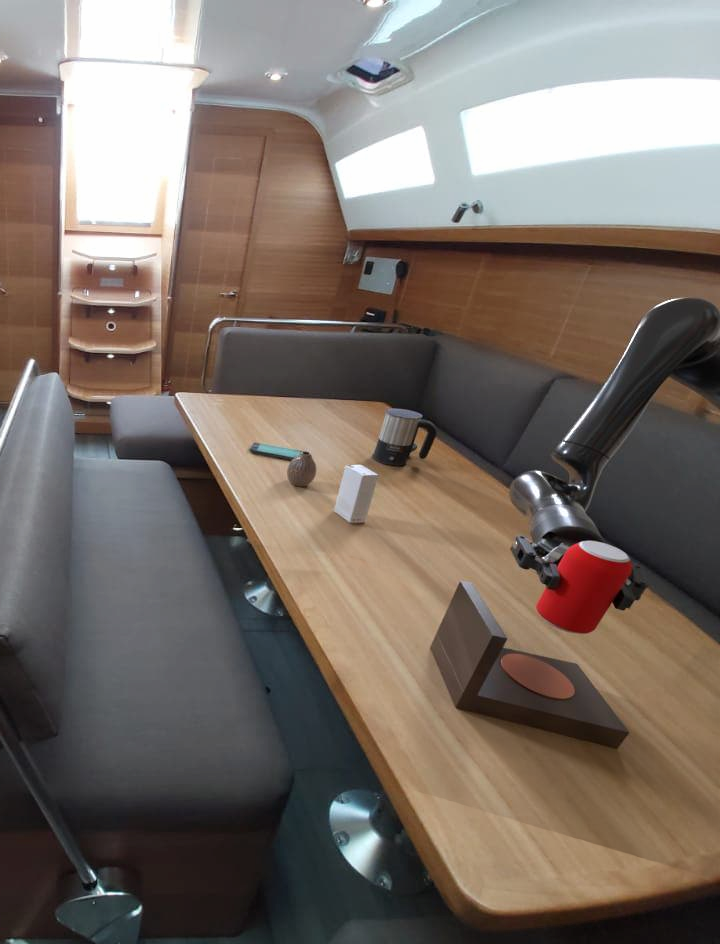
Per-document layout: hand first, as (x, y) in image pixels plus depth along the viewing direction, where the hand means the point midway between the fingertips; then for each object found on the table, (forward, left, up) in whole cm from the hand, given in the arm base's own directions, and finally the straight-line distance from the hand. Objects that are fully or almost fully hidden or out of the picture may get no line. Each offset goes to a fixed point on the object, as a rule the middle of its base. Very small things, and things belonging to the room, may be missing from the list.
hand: (588, 593), depth 63 cm
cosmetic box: (+17, -47, -18) cm, 53 cm away
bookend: (+2, +1, -18) cm, 18 cm away
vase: (+27, -62, -18) cm, 70 cm away
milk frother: (-2, -94, -18) cm, 96 cm away
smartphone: (+32, -82, -18) cm, 90 cm away
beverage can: (-1, -2, -7) cm, 7 cm away
